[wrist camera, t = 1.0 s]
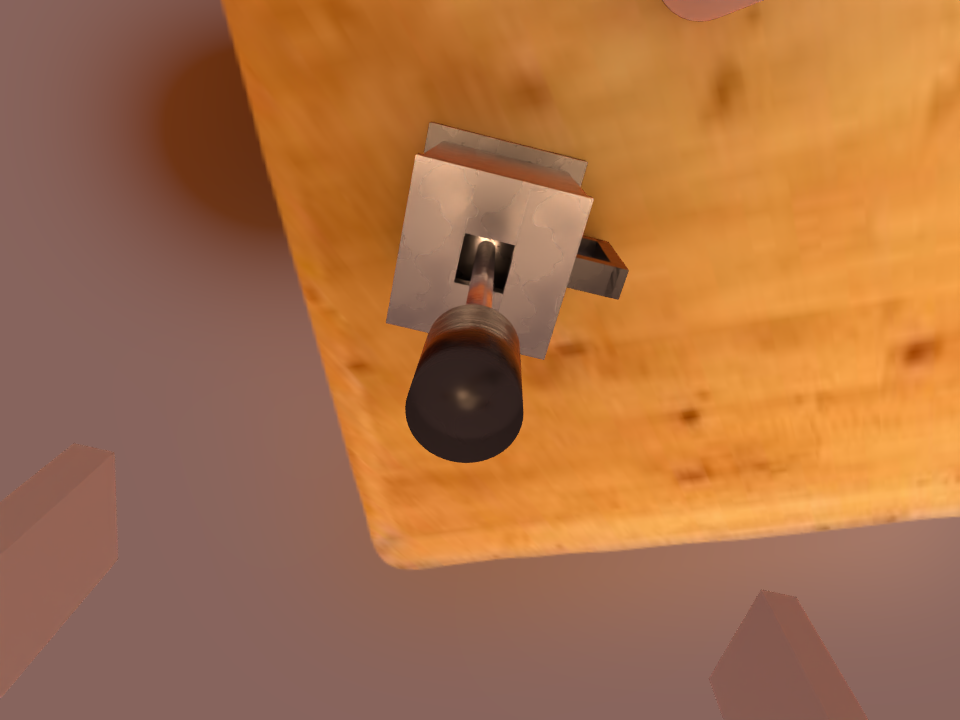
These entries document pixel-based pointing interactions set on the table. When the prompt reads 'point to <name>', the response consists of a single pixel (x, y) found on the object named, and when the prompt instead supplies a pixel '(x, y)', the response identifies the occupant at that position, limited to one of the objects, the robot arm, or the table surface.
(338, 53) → the table surface
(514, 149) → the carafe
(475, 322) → the plunger
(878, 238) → the table surface
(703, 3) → the cylindrical container
